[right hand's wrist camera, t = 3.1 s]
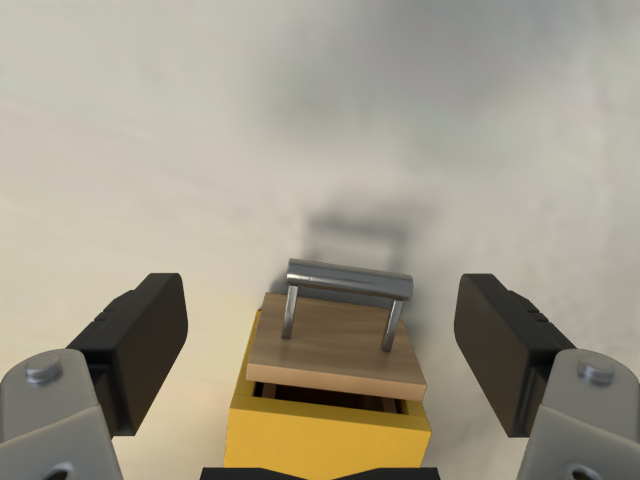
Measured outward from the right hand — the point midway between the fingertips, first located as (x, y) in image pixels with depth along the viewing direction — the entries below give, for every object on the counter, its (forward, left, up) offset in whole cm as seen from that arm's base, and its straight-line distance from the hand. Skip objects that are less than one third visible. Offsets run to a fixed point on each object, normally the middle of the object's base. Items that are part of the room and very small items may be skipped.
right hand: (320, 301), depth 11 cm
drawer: (-11, -11, -16) cm, 22 cm away
